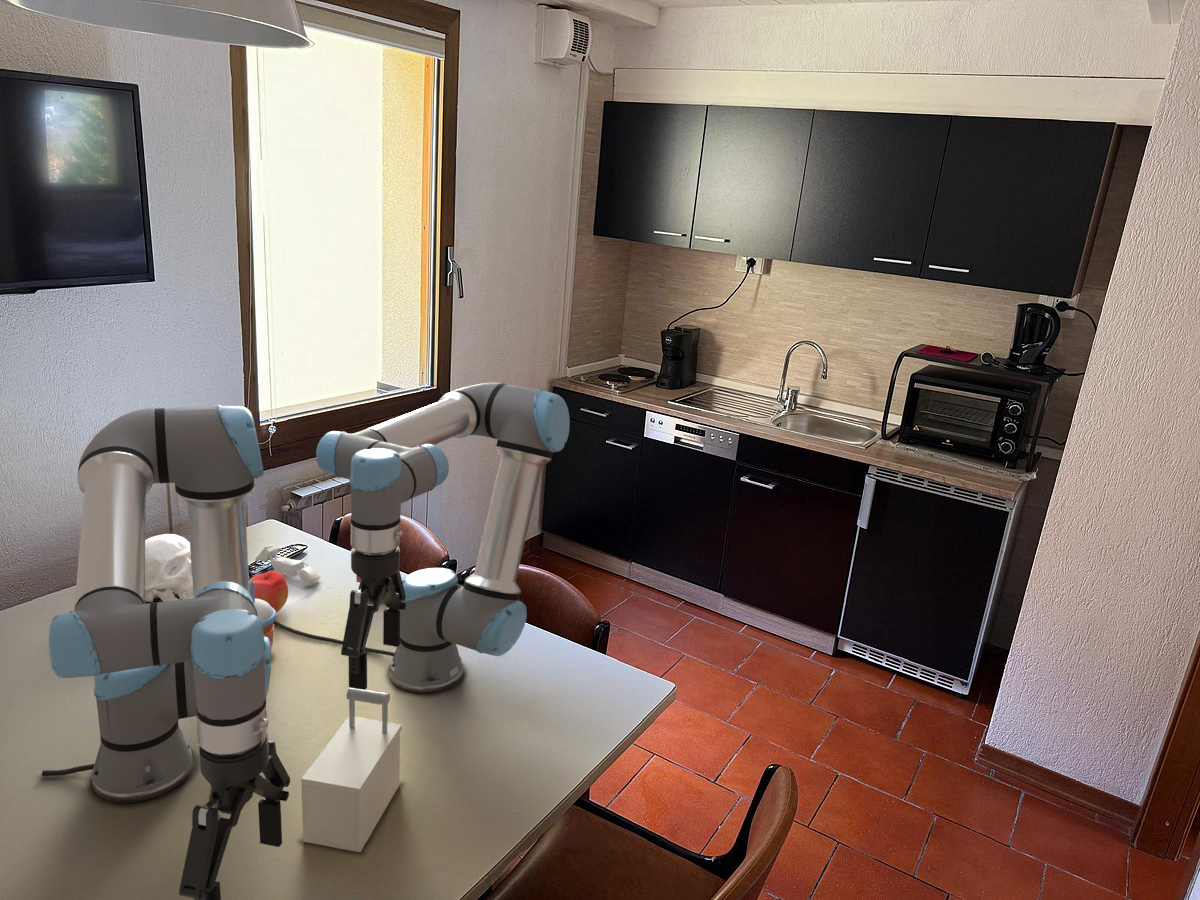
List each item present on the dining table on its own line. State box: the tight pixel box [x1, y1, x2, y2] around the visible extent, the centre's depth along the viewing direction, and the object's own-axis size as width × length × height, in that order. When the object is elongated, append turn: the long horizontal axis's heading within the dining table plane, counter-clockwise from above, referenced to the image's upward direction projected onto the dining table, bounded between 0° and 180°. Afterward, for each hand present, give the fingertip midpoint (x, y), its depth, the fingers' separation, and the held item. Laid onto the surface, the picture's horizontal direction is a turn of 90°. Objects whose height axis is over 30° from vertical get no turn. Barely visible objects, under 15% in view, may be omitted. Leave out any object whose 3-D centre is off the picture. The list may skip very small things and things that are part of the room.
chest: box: [301, 732, 401, 853], centre depth 140 cm, size 16×10×11 cm, turn 171°
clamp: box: [254, 544, 322, 587], centre depth 219 cm, size 20×4×7 cm, turn 62°
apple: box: [249, 570, 289, 614], centre depth 199 cm, size 10×10×10 cm
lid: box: [300, 687, 403, 795], centre depth 138 cm, size 17×10×8 cm, turn 171°
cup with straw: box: [249, 582, 278, 648], centre depth 180 cm, size 9×9×18 cm
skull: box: [145, 533, 194, 603], centre depth 202 cm, size 13×22×16 cm, turn 73°
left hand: (242, 882), depth 107 cm, fingers open, 13 cm apart
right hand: (375, 665), depth 141 cm, fingers open, 13 cm apart
